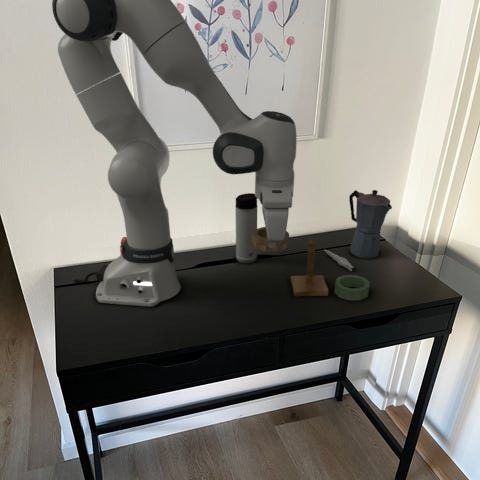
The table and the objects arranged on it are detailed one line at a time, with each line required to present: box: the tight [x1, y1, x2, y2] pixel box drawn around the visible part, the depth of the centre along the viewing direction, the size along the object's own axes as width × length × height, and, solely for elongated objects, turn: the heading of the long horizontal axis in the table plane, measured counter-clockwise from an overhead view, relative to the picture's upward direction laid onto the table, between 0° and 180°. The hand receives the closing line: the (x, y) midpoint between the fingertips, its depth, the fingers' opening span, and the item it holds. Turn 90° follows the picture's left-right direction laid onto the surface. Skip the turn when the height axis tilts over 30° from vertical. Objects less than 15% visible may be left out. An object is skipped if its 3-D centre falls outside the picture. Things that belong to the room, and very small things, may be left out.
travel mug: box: [234, 192, 259, 264], centre depth 151 cm, size 6×7×20 cm
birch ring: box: [252, 226, 290, 253], centre depth 128 cm, size 9×9×3 cm
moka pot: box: [348, 189, 393, 260], centre depth 154 cm, size 10×15×20 cm, turn 42°
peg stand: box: [289, 239, 330, 297], centre depth 137 cm, size 9×9×14 cm
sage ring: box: [333, 274, 371, 302], centre depth 137 cm, size 9×9×3 cm
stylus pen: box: [323, 248, 355, 272], centre depth 154 cm, size 15×3×2 cm, turn 25°
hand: (271, 244), depth 125 cm, fingers closed on birch ring
